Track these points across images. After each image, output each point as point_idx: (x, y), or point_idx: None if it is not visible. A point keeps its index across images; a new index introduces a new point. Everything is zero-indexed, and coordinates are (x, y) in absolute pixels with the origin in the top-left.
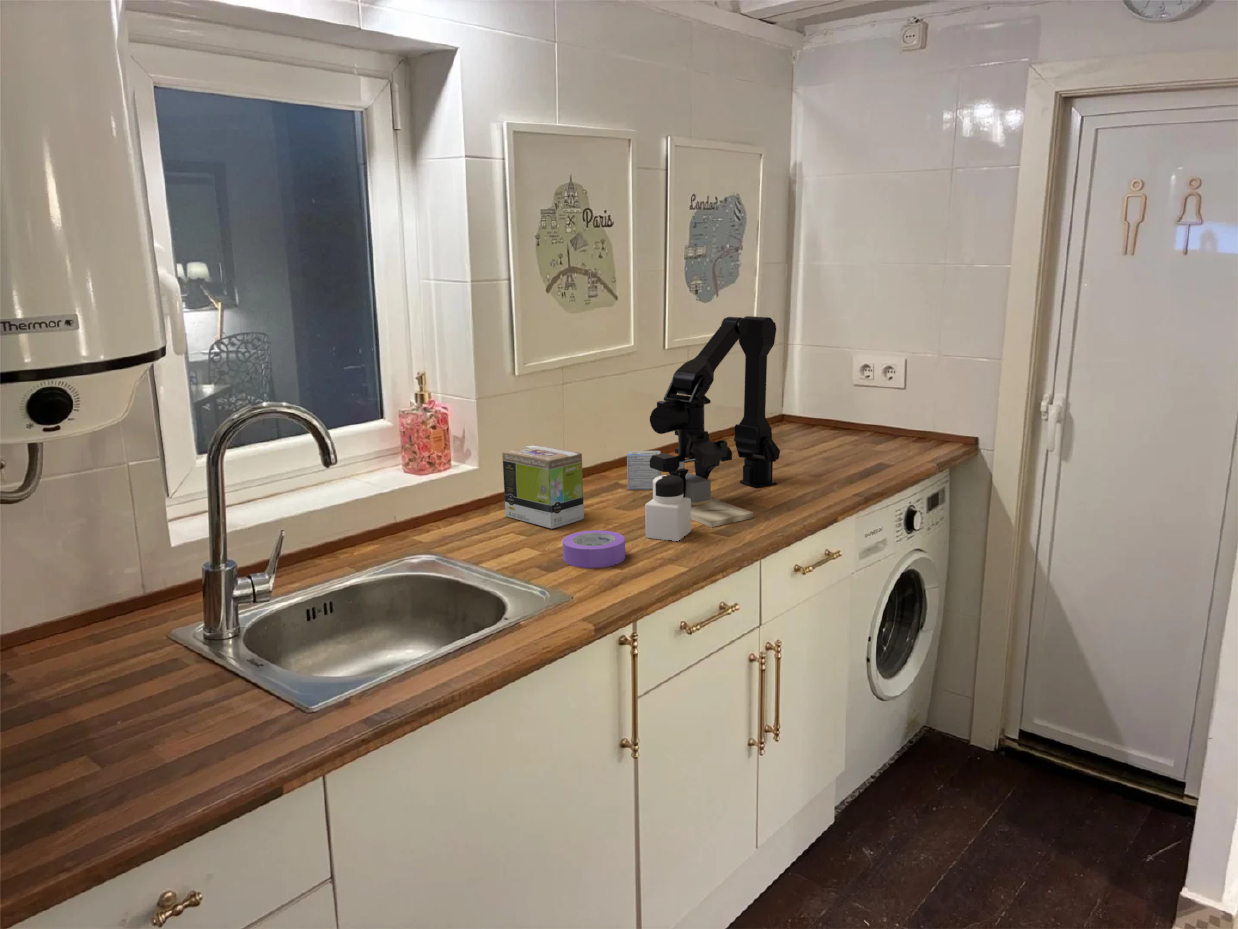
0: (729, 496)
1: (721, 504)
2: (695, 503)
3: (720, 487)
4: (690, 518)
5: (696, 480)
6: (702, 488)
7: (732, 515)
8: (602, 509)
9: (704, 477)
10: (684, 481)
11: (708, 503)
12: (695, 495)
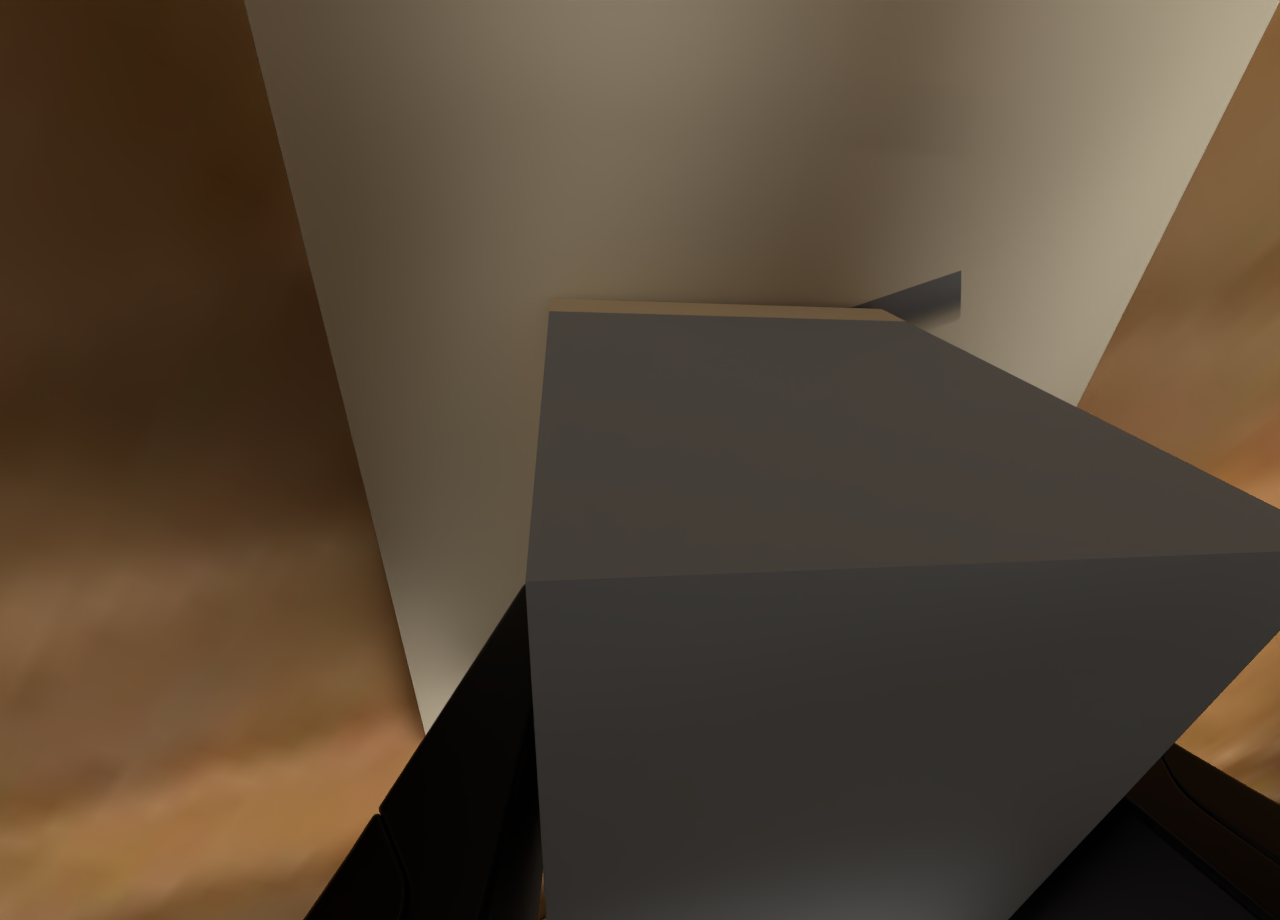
0: (10, 573)
1: (426, 53)
2: (877, 316)
3: (26, 822)
4: None
5: (941, 760)
6: (852, 423)
7: None
8: (1193, 724)
9: (480, 894)
10: (1159, 801)
11: (607, 286)
12: (967, 368)
